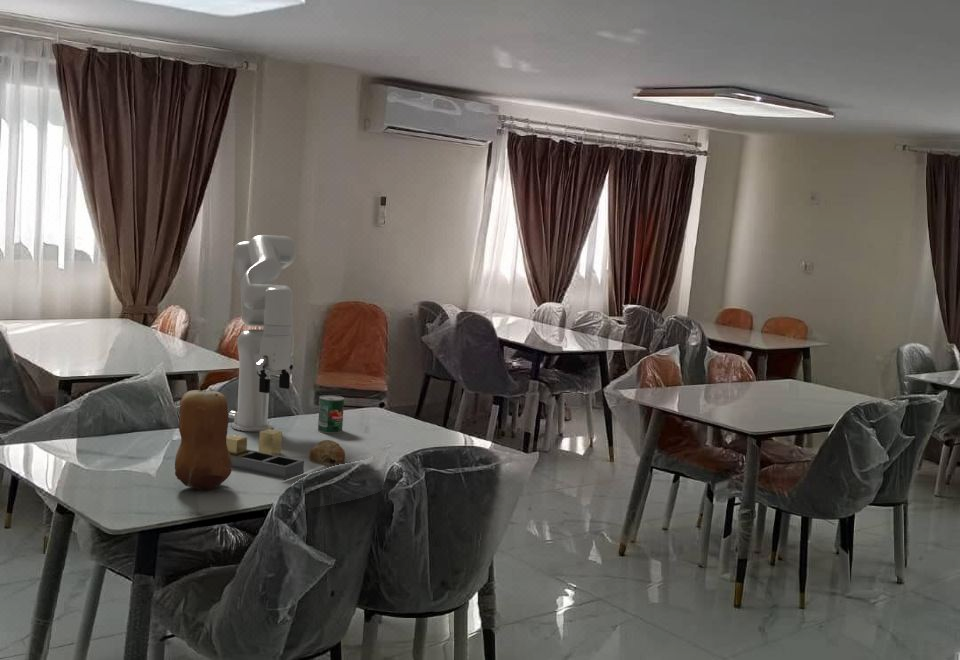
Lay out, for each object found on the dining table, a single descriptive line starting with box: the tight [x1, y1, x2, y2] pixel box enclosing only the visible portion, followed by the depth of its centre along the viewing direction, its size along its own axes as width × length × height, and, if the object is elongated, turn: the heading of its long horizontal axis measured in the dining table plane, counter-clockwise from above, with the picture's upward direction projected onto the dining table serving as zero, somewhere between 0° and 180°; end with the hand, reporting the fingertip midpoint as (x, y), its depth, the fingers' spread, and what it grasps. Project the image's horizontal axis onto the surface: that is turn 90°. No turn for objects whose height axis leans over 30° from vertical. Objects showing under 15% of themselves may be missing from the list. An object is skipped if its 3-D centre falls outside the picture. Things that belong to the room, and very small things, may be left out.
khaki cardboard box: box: [226, 434, 248, 456], centre depth 269 cm, size 4×4×7 cm
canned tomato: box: [317, 394, 345, 435], centre depth 316 cm, size 8×8×11 cm
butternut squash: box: [174, 389, 232, 491], centre depth 244 cm, size 14×13×25 cm
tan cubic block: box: [258, 428, 283, 455], centre depth 282 cm, size 4×4×7 cm
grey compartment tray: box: [230, 448, 305, 481], centre depth 267 cm, size 24×8×4 cm, turn 66°
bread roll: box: [308, 439, 346, 467], centre depth 280 cm, size 10×10×8 cm
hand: (274, 390), depth 280 cm, fingers open, 9 cm apart
